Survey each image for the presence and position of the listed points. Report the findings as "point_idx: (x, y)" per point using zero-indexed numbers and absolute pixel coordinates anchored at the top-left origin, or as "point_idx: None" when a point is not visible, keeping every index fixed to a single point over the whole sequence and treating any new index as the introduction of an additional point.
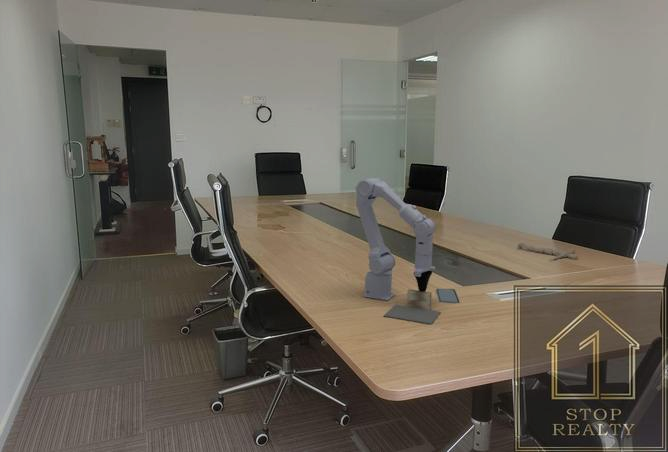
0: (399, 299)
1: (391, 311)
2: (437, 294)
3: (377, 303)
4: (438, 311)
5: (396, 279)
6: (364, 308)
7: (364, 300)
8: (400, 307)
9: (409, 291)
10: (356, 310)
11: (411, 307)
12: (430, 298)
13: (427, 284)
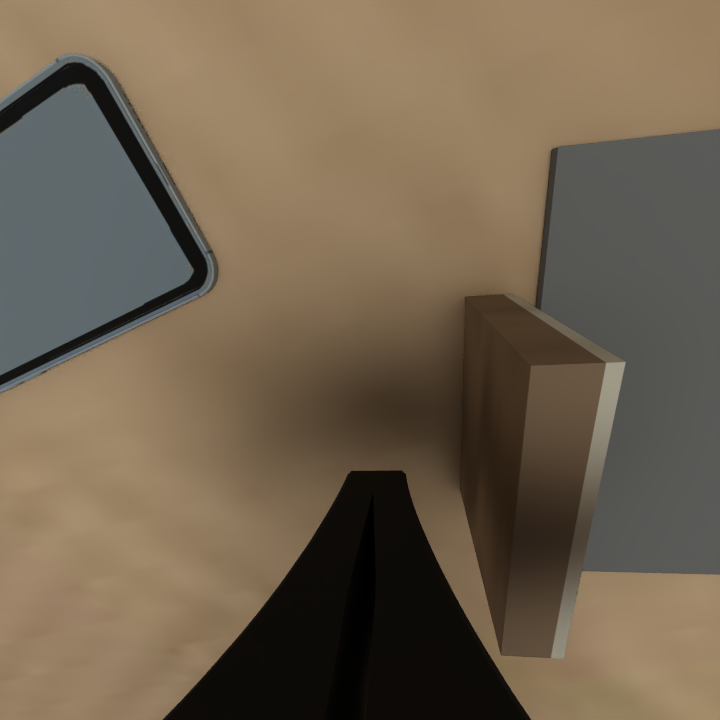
0: None
1: (703, 555)
2: (51, 366)
3: None
4: (558, 176)
5: (4, 660)
6: (648, 685)
7: None
8: None
9: (563, 631)
10: (705, 708)
11: None
12: (544, 332)
13: (311, 543)
